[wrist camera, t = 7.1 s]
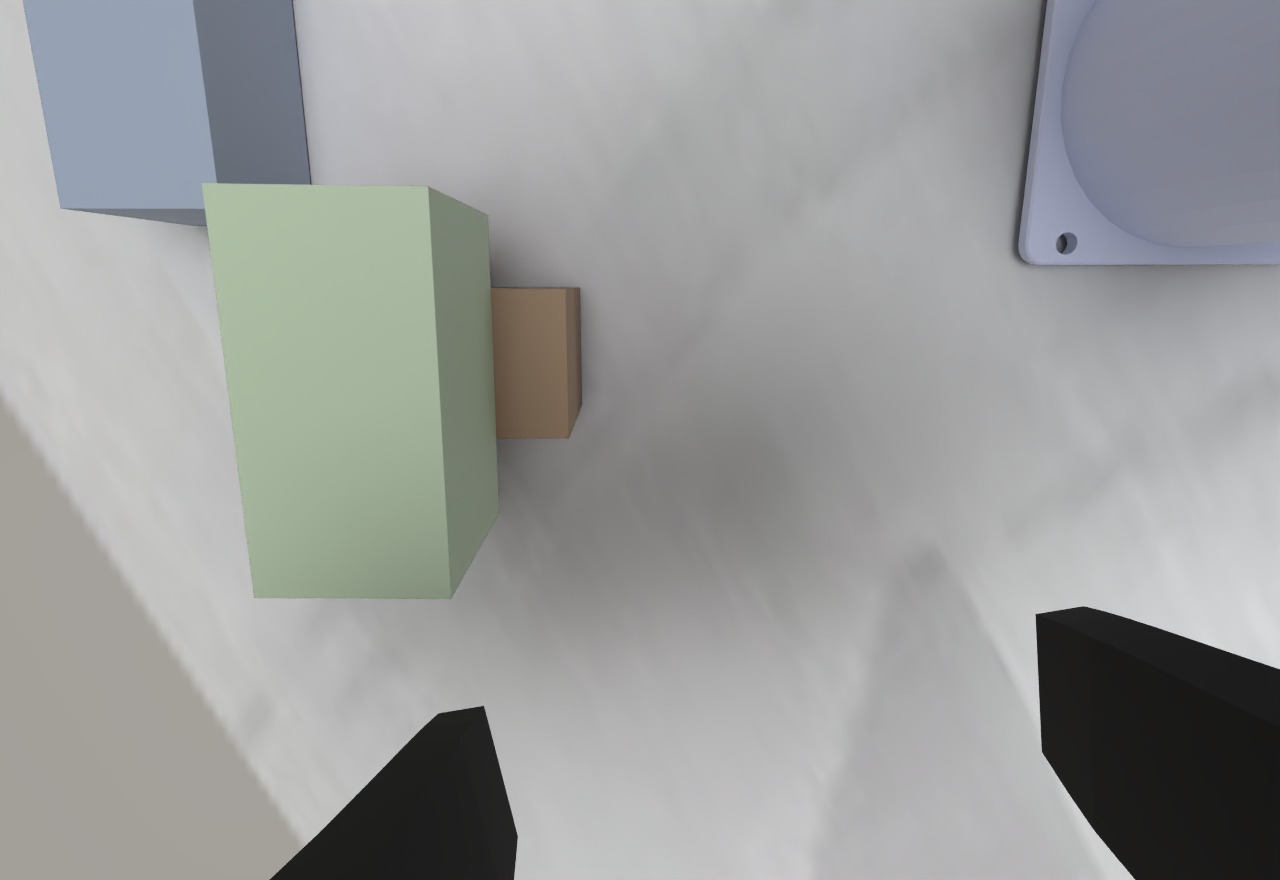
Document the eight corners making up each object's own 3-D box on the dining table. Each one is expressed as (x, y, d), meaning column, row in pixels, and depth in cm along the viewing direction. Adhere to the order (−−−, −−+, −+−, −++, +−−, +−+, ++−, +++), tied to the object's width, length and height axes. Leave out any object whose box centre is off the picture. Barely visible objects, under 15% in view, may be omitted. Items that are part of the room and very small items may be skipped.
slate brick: (153, -51, 15) (-7, -164, 12) (286, -51, 15) (171, -162, 12) (192, 225, 17) (60, 208, 13) (314, 225, 17) (220, 208, 13)
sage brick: (499, 512, 14) (451, 598, 10) (355, 512, 14) (254, 598, 10) (487, 214, 13) (428, 186, 9) (329, 212, 13) (201, 182, 9)
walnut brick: (579, 287, 17) (565, 289, 13) (581, 404, 18) (568, 438, 14) (341, 287, 17) (257, 288, 13) (352, 404, 18) (275, 438, 14)
